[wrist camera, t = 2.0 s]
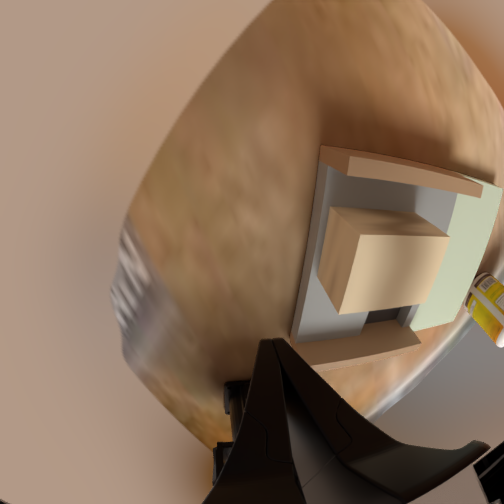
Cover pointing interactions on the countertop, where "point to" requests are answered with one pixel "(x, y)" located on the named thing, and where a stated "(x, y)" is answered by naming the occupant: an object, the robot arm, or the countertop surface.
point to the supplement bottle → (487, 306)
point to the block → (379, 259)
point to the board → (396, 199)
